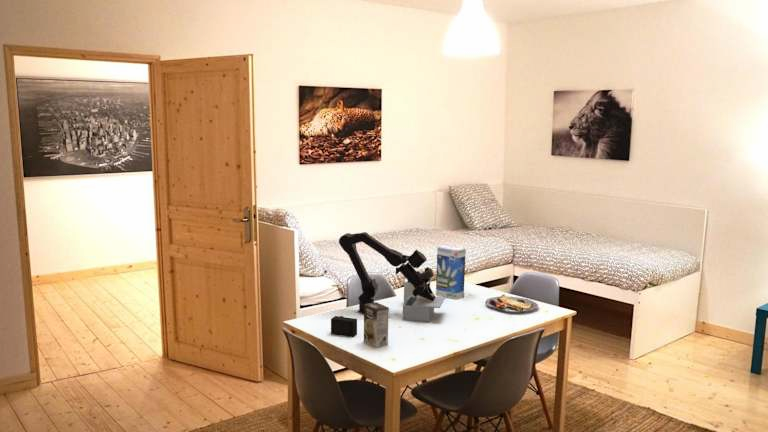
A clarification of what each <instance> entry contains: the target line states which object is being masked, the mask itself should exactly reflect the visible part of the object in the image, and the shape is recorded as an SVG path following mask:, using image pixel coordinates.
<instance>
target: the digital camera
mask: <svg viewBox="0 0 768 432" xmlns="http://www.w3.org/2000/svg"><path fill="white" fill-rule="evenodd" d="M333 334H334V336H335V335H336V336H341V337H347V338H354V337H356V336H357V335H358V318H354V317H353V318H352V317H345V316H342V315H340V316H337V315H335V316H333V317H332V318H330V335H333Z"/></svg>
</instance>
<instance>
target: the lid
mask: <svg viewBox="0 0 768 432" xmlns="http://www.w3.org/2000/svg"><path fill="white" fill-rule="evenodd" d="M430 294H431V293H430ZM433 294H434V293H433ZM433 294H431V295H432V296H433ZM445 299H446V297H443V296H435V299H434V301H431V300H429V299H426V298H424V297H421V296H418V297H417V299H416V300H415V302H414V304H413V306H417V307H430V308H434V309H441V307H442V305H443V303H444V300H445Z"/></svg>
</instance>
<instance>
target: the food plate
mask: <svg viewBox="0 0 768 432" xmlns="http://www.w3.org/2000/svg"><path fill="white" fill-rule="evenodd" d="M485 305H487V306H488V307H491V308H494V309H495V310H497V311H500V312H508V313H523V312H528V311H529V312H530V311H533V310H536V309H538V307H539V304H538V302H535V301H533V300H531V299H528V298H523V297H517V296H507V295H505V294H502V295H501V296H495V297H490V298H487V299H486V300H485Z"/></svg>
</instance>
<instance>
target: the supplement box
mask: <svg viewBox="0 0 768 432" xmlns="http://www.w3.org/2000/svg"><path fill="white" fill-rule="evenodd" d="M403 280H404V281H403V304H404V303H405V302H406V300H407V299H408V297H409V296H413V297H415V296H414V295H413V294H412V293H413V290H414V286H413V285H412V284H411V283H410V282H409V283H408V282H407V281H408V280H407V279H406V278H404V279H403ZM416 297H418V295H417V296H416Z"/></svg>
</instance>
